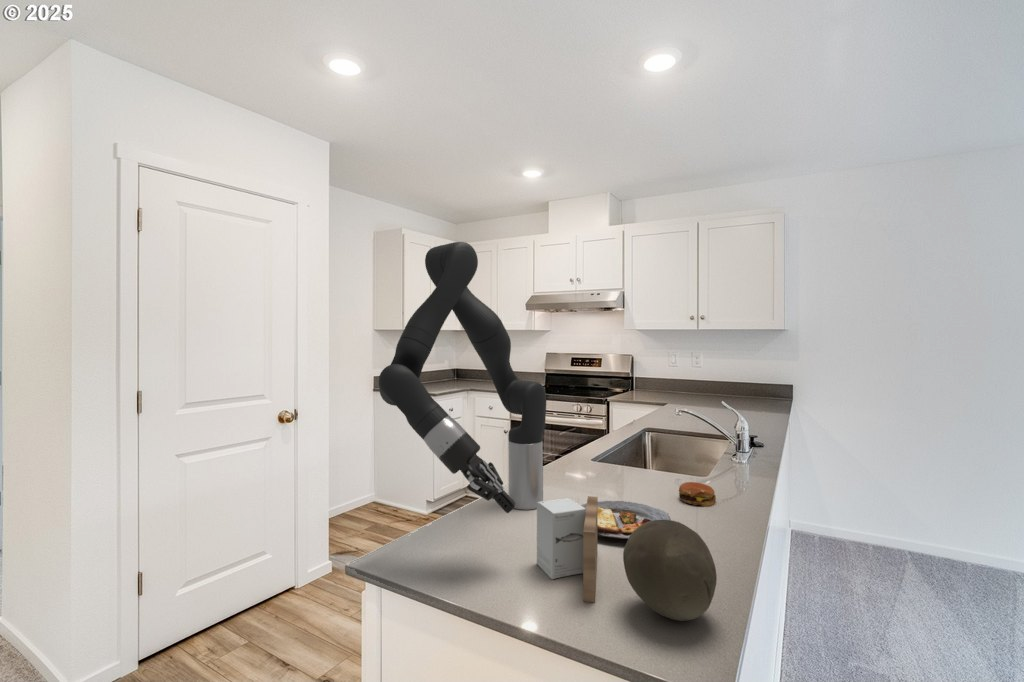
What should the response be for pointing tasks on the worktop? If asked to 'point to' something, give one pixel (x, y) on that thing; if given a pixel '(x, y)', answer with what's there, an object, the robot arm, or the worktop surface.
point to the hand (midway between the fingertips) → (512, 508)
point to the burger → (697, 494)
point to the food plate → (624, 517)
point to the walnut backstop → (590, 549)
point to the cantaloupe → (670, 569)
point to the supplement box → (560, 537)
